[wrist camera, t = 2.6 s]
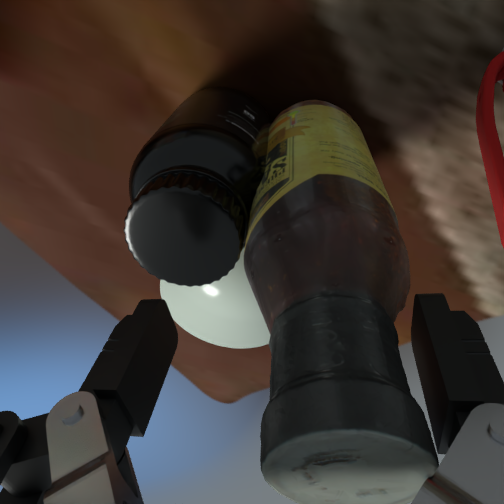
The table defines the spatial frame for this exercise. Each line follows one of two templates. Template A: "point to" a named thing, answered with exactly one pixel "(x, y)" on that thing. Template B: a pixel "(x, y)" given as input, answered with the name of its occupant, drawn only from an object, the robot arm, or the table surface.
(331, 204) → the sauce bottle
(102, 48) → the table surface
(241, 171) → the supplement bottle
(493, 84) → the tracker holder
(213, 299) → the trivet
